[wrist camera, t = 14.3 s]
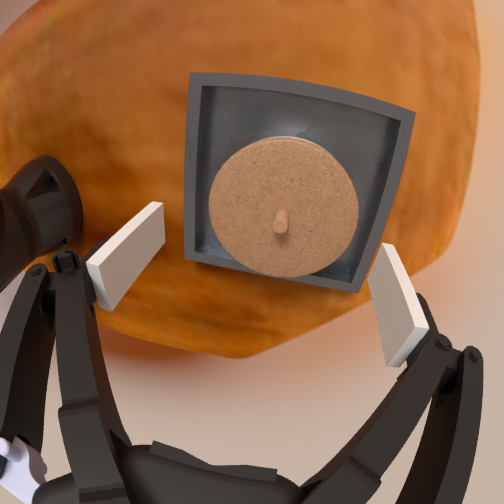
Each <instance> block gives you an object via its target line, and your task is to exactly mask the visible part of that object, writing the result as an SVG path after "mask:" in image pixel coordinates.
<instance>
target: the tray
mask: <svg viewBox="0 0 504 504" xmlns="http://www.w3.org/2000/svg"><path fill="white" fill-rule="evenodd" d="M415 114H416V112H413V111H410V110H408V109H405V108H402V107H399V106H396V105H394V104H391V103H388V102H384V101H381V100H378V99H375V98H372V97H368V96H365V95H361V94H357V93H354V92H350V91H346V90H342V89H337V88H333V87H328V86H324V85H319V84H314V83H308V82H303V81H297V80H290V79H283V78H276V77H267V76H258V75H246V74H230V73H190V81H189V92H188V105H187V120H186V138H185V164H184V249H185V259H188V260H192V261H197V262H202V263H206V264H211V265H216V266H221V267H225V268H230V269H235V270H240V271H245V272H249V273H254V274H259V275H264V276H269V275H265V274H262V273H259V272H256V271H254V270H252V269H250V268H248V267H246V266H244V265H243V264H241V263H240V262H238V261H237V260H236V259H235V258H234V257H233V256H231V255H230V254H229V253H228V252H227V250H226V249H225V248H224V247H223V246H222V244H221V243H220V241H219V240H218V238H217V236H216V234H215V232H214V230H213V227H212V224H211V220H210V216H209V195H210V191H211V187H212V184H213V181H214V179H215V177H216V175H217V173H218V172H219V170H220V169H221V167H222V166H223V164H224V163H225V162H226V161H227V160H228V159H229V158H230V157H231V156H232V155H234V154H235V153H236V152H238V151H239V150H241V149H242V148H244V147H246V146H248V145H250V144H252V143H254V142H257V141H259V140H262V139H265V138H269V137H275V136H294V137H299V138H303V139H306V140H309V141H311V142H314V143H316V144H317V145H319V146H321V147H322V148H324V149H325V150H326V151H328V152H329V153H330V154H331V155H332V156H333V157H334V158H335V159H336V160H337V161H338V162H339V163H340V164H341V166H342V167H343V168H344V169H345V171H346V172H347V174H348V176H349V177H350V179H351V181H352V183H353V186H354V188H355V191H356V194H357V199H358V205H359V217H358V223H357V228H356V231H355V234H354V237H353V239H352V240H351V242H350V244H349V246H348V247H347V249H346V250H345V251H344V252H343V254H342V255H341V256H340V257H339V258H337V259H336V260H335V261H334V262H333V263H331V264H330V265H328V266H327V267H325V268H323V269H321V270H319V271H317V272H315V273H312V274H308V275H304V276H299V277H274V276H269V277H274V278H279V279H284V280H289V281H295V282H300V283H305V284H310V285H315V286H321V287H326V288H331V289H337V290H342V291H348V292H353V293H359V290H360V288H361V286H362V283H363V281H364V279H365V276H366V274H367V272H368V269H369V267H370V264H371V262H372V259H373V257H374V254H375V252H376V249H377V246H378V244H379V241H380V238H381V235H382V233H383V230H384V227H385V224H386V221H387V218H388V215H389V213H390V209H391V206H392V203H393V200H394V197H395V194H396V190H397V187H398V184H399V180H400V177H401V173H402V170H403V166H404V162H405V158H406V154H407V150H408V146H409V142H410V138H411V133H412V129H413V124H414V119H415Z"/></svg>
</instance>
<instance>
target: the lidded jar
mask: <svg viewBox="0 0 504 504" xmlns="http://www.w3.org/2000/svg"><path fill="white" fill-rule="evenodd" d="M209 216H210V220H211V224H212V227H213V230H214V232H215V234H216V236H217V238H218V240H219V241H220V243H221V244H222V246H223V247H224V248H225V249H226V250H227V252H228V253H229V254H230V255H231V256H233V257H234V258H235V259H236V260H237V261H238V262H240V263H241V264H243V265H244V266H246V267H248V268H250V269H252V270H254V271H256V272H259V273H262V274H265V275H269V276H274V277H299V276H304V275H308V274H312V273H315V272H317V271H319V270H321V269H323V268H325V267H327V266H328V265H330V264H331V263H333V262H334V261H335V260H336V259H337V258H339V257H340V256H341V255H342V254H343V252H344V251H345V250H346V249H347V247H348V246H349V244H350V242H351V240H352V239H353V237H354V234H355V231H356V228H357V223H358V217H359V205H358V199H357V194H356V191H355V188H354V186H353V183H352V181H351V179H350V177H349V176H348V174H347V172H346V171H345V169H344V168H343V167H342V166H341V164H340V163H339V162H338V161H337V160H336V159H335V158H334V157H333V156H332V155H331V154H330V153H329V152H328V151H326V150H325V149H324V148H322V147H321V146H319V145H317V144H316V143H314V142H311V141H309V140H306V139H303V138H299V137H294V136H275V137H269V138H265V139H262V140H259V141H257V142H254V143H252V144H250V145H248V146H246V147H244V148H242V149H241V150H239V151H238V152H236V153H235V154H234V155H232V156H231V157H230V158H229V159H228V160H227V161H226V162H225V163H224V164H223V166H222V167H221V169H220V170H219V172H218V173H217V175H216V177H215V179H214V181H213V184H212V187H211V191H210V195H209Z"/></svg>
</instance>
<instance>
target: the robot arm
mask: <svg viewBox="0 0 504 504" xmlns="http://www.w3.org/2000/svg"><path fill="white" fill-rule="evenodd" d="M81 226H82V209H81V203H80V199H79V195H78V192H77V189H76V187H75V185H74V182H73V180H72V178H71V177H70V175H69V173H68V172H67V171H66V169H65V168H64V167H63V166H62V165H61V164H60V163H59V162H58V161H57V160H55V159H54V158H52V157H49V156H40V157H38V158H35V159H33V160H31V161H29V162H28V163H26V164H25V165H24V166H23V167H22V168H21V169H20V170H19V171H18V172H17V173H16V174H15V175H14V176H13V178H12V179H11V180H10V181H9V182H8V183H7V184H6V185H5V186H4V187H3V188H2V189H0V293H1V292H2V291H3V290H4V289H5V288H6V287H7V286H8V284H10V283H11V281H13V279H15V277H16V276H18V275H19V274H20V273H21V272H22V271H23V270H24V269H25V268H26V267H27V266H28V265H29V264H30V263H31V262H32V261H34V260H35V259H36V258H38V257H41V256H44V255H47V254H50V253H53V252H56V251H59V250H62V249H64V248H66V247H67V246H68V245H69V244H71V243H72V242H73V241H74V240H75V239H76V238H77V237H78V235H79V233H80V230H81ZM164 243H165V230H164V210H163V203H159V202H151V203H150V204H149V205H148V206H146V207H145V208H144V209H143V210H142V211H141V212H139V213H138V214H137V215H136V216H135V217H134V218H132V219H131V220H130V221H129V222H128V223H127V224H126V225H125V226H123V227H122V228H121V229H120V230H119V231H118V232H117V233H116V234H115V235H114V236H109V237H107V238H105V239H103V240H101V241H100V242H99V243H98V244H97V245H96V247H94V248H93V249H92V250H91V251H90V252H89V253H88V254H87V255H85V256H84V257H83V258H82V259H81V260H80V261H79V259H78V255H77V252H76V251H75V250H74V249H64V250H62V251H59V252H58V253H56V254H55V255H54V256H53V259H52V261H53V264H54V267H55V270H56V272H48V269H47V267H46V265H45V264H42V263H39V264H35V265H33V266H31V267H30V268H29V269H28V270H27V272H26V273H25V276H24V278H23V280H22V282H21V284H20V286H19V288H18V290H17V293H16V295H15V297H14V300H13V302H12V304H11V307H10V310H9V312H8V314H7V317H6V320H5V322H4V325H3V328H2V331H1V333H0V484H1V485H2V486H3V487H4V488H5V489H7V490H8V491H9V492H10V493H12V494H13V495H14V496H16V497H17V498H18V499H20V500H21V501H22V502H24V503H25V504H366V503H367V501H368V500H369V499H370V498H371V497H372V496H373V494H374V493H375V492H376V491H377V489H378V488H379V486H380V484H381V480H380V478H381V476H382V475H383V473H384V472H385V471H386V470H387V468H388V467H389V465H390V464H391V462H392V461H393V460H394V459H395V457H396V456H397V454H398V453H399V451H400V450H401V448H402V447H403V445H404V444H405V442H406V441H407V439H408V438H409V436H410V435H411V433H412V431H413V430H414V428H415V426H416V425H417V423H418V421H419V419H420V418H421V416H422V414H423V412H424V411H425V409H426V407H427V405H428V403H429V401H430V399H431V397H432V400H431V404H430V409H429V412H428V416H427V420H426V424H425V427H424V431H423V435H422V438H421V441H420V444H419V447H418V450H417V453H416V456H415V459H414V461H413V464H412V466H411V469H410V472H409V474H408V477H407V479H406V482H405V484H404V486H403V488H402V491H401V493H400V495H399V497H398V499H397V501H396V503H395V504H462V501H463V498H464V495H465V492H466V489H467V485H468V482H469V478H470V474H471V470H472V466H473V462H474V457H475V452H476V447H477V441H478V435H479V428H480V420H481V410H482V397H483V357H482V355H481V353H480V351H479V350H478V349H477V348H475V347H473V346H467V347H466V348H465V349H464V351H463V352H461V351H459V350H456V349H453V348H452V344H451V342H450V340H449V339H448V338H447V337H446V336H444V335H443V334H439V332H438V329H437V327H436V324H435V322H434V319H433V316H432V315H431V312H430V310H429V307H428V304H427V302H426V300H425V299H424V298H423V296H422V295H421V294H420V293H415V291H414V288H413V286H412V284H411V282H410V279H409V277H408V275H407V273H406V271H405V268H404V266H403V264H402V262H401V260H400V258H399V256H398V254H397V252H396V250H395V248H394V246H393V245H391V244H386V243H382V244H381V247H380V249H379V252H378V254H377V257H376V259H375V262H374V264H373V267H372V269H371V272H370V274H369V276H368V279H367V281H368V285H369V289H370V293H371V297H372V301H373V305H374V309H375V313H376V317H377V322H378V326H379V331H380V336H381V341H382V346H383V351H384V356H385V362H386V366H387V367H400V366H401V365H402V364H403V363H404V361H405V360H406V362H407V368H406V369H405V370H404V371H403V372H402V373H401V374H400V375H399V377H398V378H397V382H396V383H395V384H394V386H393V387H392V389H391V390H390V392H389V393H388V394H387V396H386V397H385V398H384V400H383V401H382V402H381V404H380V405H379V406H378V407H377V409H376V410H375V411H374V413H373V414H372V415H371V416H370V418H369V419H368V420H367V421H366V422H365V424H364V425H363V426H362V427H361V428H360V429H359V431H358V432H357V433H356V434H355V435H354V436H353V437H352V439H351V440H350V441H349V442H348V443H347V444H346V445H345V446H344V447H343V448H342V449H341V450H340V451H339V452H338V454H336V456H335V457H334V458H333V459H332V460H331V461H330V462H328V463H327V464H326V465H325V467H323V468H322V469H321V470H320V471H319V472H318V473H317V474H315V475H314V476H312V477H311V478H310V479H308V480H307V481H306V482H305V483H304V484H302V485H301V486H300V487H299V486H297V485H296V484H295V483H294V482H292V481H290V480H289V479H287V478H285V477H283V476H281V475H278V474H277V469H272V468H264V467H257V466H250V465H228V466H226V465H225V466H215V465H210V464H208V463H206V462H204V461H202V460H200V459H198V458H196V457H194V456H193V455H191V454H189V453H187V452H185V451H183V450H181V449H178V448H175V447H172V446H169V445H165V444H162V443H160V442H157V441H153V443H152V445H134V446H132V444H131V441H130V440H129V437H128V435H127V434H126V432H125V430H124V428H123V425H122V422H121V419H120V416H119V413H118V410H117V407H116V404H115V400H114V397H113V394H112V390H111V387H110V383H109V379H108V375H107V371H106V367H105V363H104V358H103V353H102V349H101V344H100V339H99V333H98V328H97V321H96V315H95V309H94V306H93V303H94V302H95V301H96V299H97V301H98V304H99V307H100V308H102V309H105V310H108V311H111V312H112V311H113V310H114V308H115V307H116V305H117V304H118V303H119V301H120V300H121V299H122V297H123V296H124V294H125V293H126V292H127V290H128V289H129V288H130V286H131V285H132V284H133V282H134V281H135V280H136V278H137V277H138V276H139V275H140V273H141V272H142V271H143V269H144V268H145V267H146V266H147V264H148V263H149V262H150V260H151V259H152V258H153V257H154V255H155V254H156V253H157V252H158V250H159V249H160V248H161V247H162V245H163V244H164ZM55 337H56V351H57V364H58V373H59V383H60V390H61V396H62V407H61V408H59V410H58V418H59V423H60V428H61V433H62V437H63V441H64V445H65V450H66V453H67V457H68V461H69V464H70V468H71V471H72V472H71V473H69V474H66V475H64V476H61V477H58V478H56V479H53V480H50V481H48V482H46V480H45V477H44V475H45V474H46V473H47V466H46V464H45V463H44V462H43V459H42V457H41V455H40V454H41V448H42V442H43V431H44V411H45V400H46V391H47V382H48V375H49V368H50V363H51V357H52V351H53V345H54V341H55Z"/></svg>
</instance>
